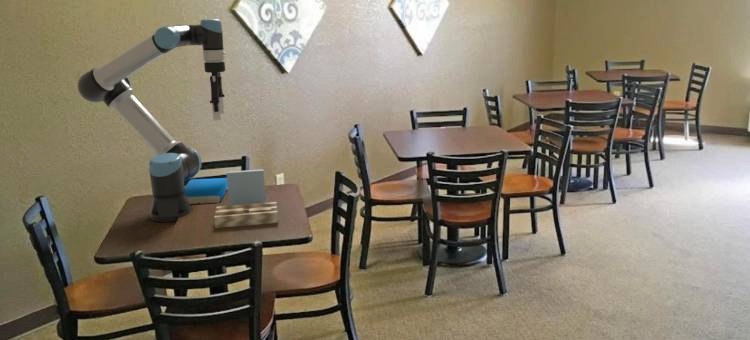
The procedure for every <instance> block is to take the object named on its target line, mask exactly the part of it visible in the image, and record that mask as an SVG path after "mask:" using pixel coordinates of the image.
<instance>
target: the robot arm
mask: <svg viewBox="0 0 750 340" xmlns="http://www.w3.org/2000/svg"><path fill="white" fill-rule="evenodd" d="M186 46H187V47H188V46H202V56H203V61H204V63H203V64H204V72H205V73H209V74H210V73H211V75H210V77H209V81H210V98H211V100H209V104H211V106H212V117H213V121H222V115H225V109H224V98H225V94H224V93H223V87H222V86H223V85H222V83H223V82H222V79H223V78H222V76H221V73H224V72H225V71H226V62H225V55H226V52H225V51H224V37H223V26H222V22H221V20H220V19H216V18H213V19H212V18H211V19H210V18H208V19H206V18H204V19H201V20H200V24H176V25H175V24H174V25H166V26H165V25H164V26H161V27H159V28H158V29H156V31H155V33H154V34H152V35H151V36H149V37H147V38H146V39H144V40H142V41H141V42H140V43H138V44H136V45H135V46H133V47H131V48H130V49H128V50H127V51H125V52H123V53H122V54H120V55H118V56H117V57H115V58H114V59H112V60H111V61H109V62H107V63H106V64H104V65H103V66H96V67H94V68H92V69H90V70H88V71H87V72H85V73H83V74H81V76H80V77H79V78H78V81H77V90H78V94H80V96H81V97H82V98H83V99H84V100H86V101H89V102H92V103H101V102H102V103H104V104H105V105H106V106H107V107H108V108H109V109H111V110H116V111H117V112H118V113H119V115H121V116H122V117H123V118H124V120H125V121H126V122H127V123H128V124H129V125H130V126H131V127H132V128H133V129H134V130H135V131H136V132H137V134H138V135H139V136H140V137H141V138H142V139H143V140H144V141H145V142H146V143H147V145H149V147H150V148H151V149H152V150H153V151H154V152H155V153H156V154H157V155H155V156H153V157H152V158H150V159H149V161H148V171H149V178H150V185H151V193H152V203H151V205H150V206H151V207H150V211H149V216H150V220H151V221H153V222H156V223H157V222H158V223H173V222H177V221H178V220H179V218H181V217H184V216H187V215H189V214H190V213H191V212H192V206H191V204H189V202H188V200H187V198H186V195H185V189H184V188H185V182H187V181H188V180H191V179H192V178H194V177H195V176H196V175H197V174H198V173H199V172H200V171H201V168H202V158H201V155H200V153H198V151H197V150H195V149H194V148H192V147H187V146H186V145H185V144H184V143H183V142H182V141H181V140H175V139H174V138H173V136H172V135H171V134H169V132H168V131H167V130H166V129H165V128H164V127H163V126H162V125H161V124H160V122H158V120H157V119H156V118H155V117H154V116H153V115H152V114H151V113H150V111H148V110H147V108H146V107H145V106H144V105H143V104H142V103H141V102H140V100H138V99H137V98H136V96H135V95H134V94H135V91H134V88H133V87H132V85H131V80H130V78H129V76H131V75H133V74H134V73H136V72H138V71H140V70H141V69H143V68H144V67H146V66H148V65H149V64H151V63H152V62H153V61H156V60H158V58H160V57H162V56H164V55H165V54H167V53H169V52H171V51H172V50H174V49H175V48H180V47H186Z"/></svg>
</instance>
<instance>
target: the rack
mask: <svg viewBox="0 0 750 340" xmlns="http://www.w3.org/2000/svg"><path fill="white" fill-rule="evenodd" d="M277 203H278V202H277V201H270V202H266V203H256V204H244V205H231V206H229V205H221V206H220V205H219V206H216V210H215V212H214V214H215V215H214V217H213V218H214V219H213V220H214V227H215V229H218V228H219V229H220V228H230V227H243V226H244V227H245V226H255V225H267V224H278V223H279V216H278V205H277ZM267 207H271V209H272V211H268V212H256V213H249V209H255V208H267ZM238 208H243V210H244V213H243V214H231V215H219V216H218V214H217V212H218V210H226V209H238Z"/></svg>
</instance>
